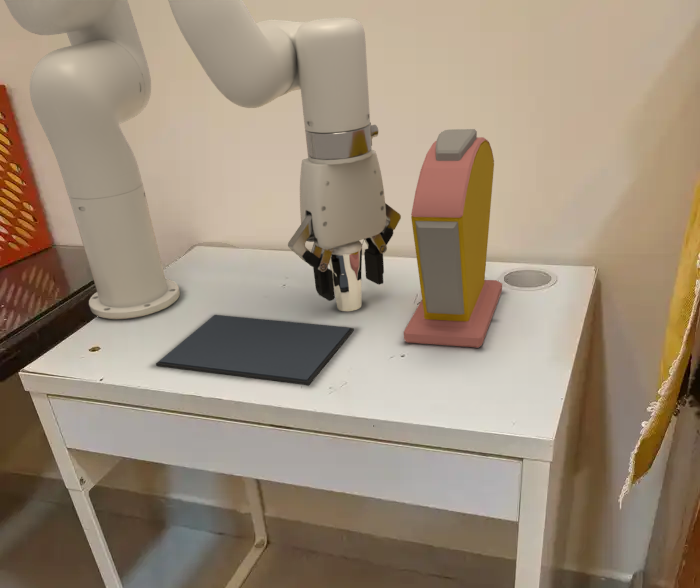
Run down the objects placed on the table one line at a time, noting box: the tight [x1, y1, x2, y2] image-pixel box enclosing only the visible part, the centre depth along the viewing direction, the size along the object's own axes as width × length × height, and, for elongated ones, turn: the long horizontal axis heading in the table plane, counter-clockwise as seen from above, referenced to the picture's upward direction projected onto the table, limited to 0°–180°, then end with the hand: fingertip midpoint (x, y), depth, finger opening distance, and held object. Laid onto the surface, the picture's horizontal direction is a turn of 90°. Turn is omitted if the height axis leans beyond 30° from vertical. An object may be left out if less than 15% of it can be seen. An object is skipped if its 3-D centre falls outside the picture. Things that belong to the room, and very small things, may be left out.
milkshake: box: [328, 238, 365, 312], centre depth 93 cm, size 4×5×10 cm
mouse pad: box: [155, 314, 355, 386], centre depth 88 cm, size 20×14×1 cm
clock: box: [403, 128, 503, 349], centre depth 84 cm, size 22×9×22 cm, turn 162°
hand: (350, 288), depth 94 cm, fingers open, 6 cm apart
